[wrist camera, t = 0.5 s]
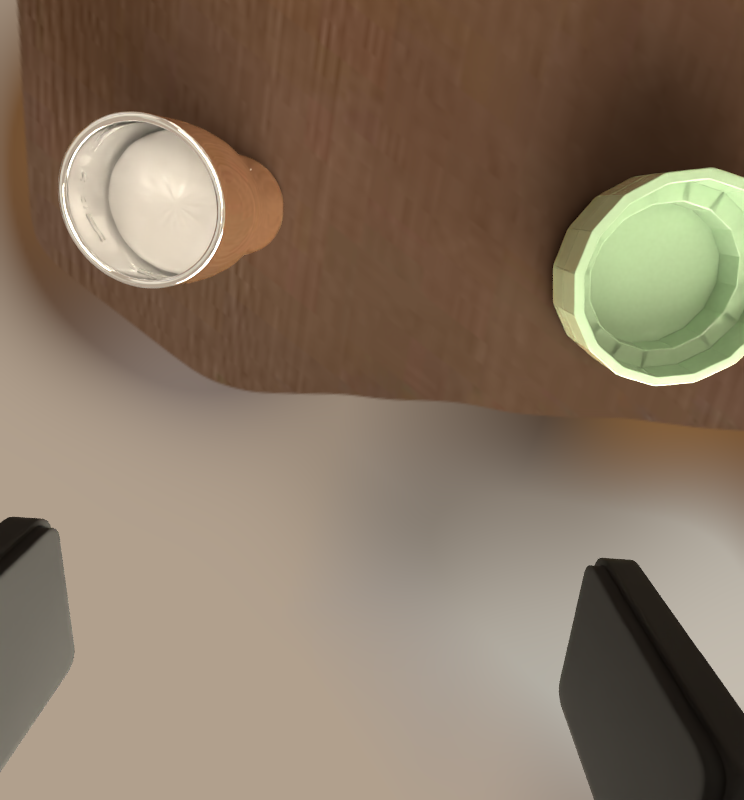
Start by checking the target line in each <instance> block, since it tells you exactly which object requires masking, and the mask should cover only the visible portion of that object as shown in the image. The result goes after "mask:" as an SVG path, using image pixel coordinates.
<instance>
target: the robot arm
mask: <svg viewBox="0 0 744 800" xmlns="http://www.w3.org/2000/svg"><path fill="white" fill-rule="evenodd" d="M73 658H74V642H73V635H72V627H71V620H70V612H69V606H68V598H67V591H66V583H65V575H64V568H63V560H62V553H61V546H60V538H59V534H58V531H57V530H56V529H54V528H51V527H50V524H49V523H48V521H47V520H44V519H37V518H23V517H22V518H21V517H9V518H7V519H5V520H4V521H2V522H1V523H0V772H1V770H2V769H3V767H4V766H5V764H6V763H7V761H8V760H9V758H10V757H11V755H12V754H13V753H14V751H15V750H16V748H17V747H18V745H19V744H20V742H21V741H22V739H23V738H24V736H25V735H26V733H27V732H28V730H29V729H30V727H31V726H32V725H33V723H34V722H35V720H36V718H37V717H38V716H39V714H40V713H41V711H42V710H43V708H44V707H45V705H46V704H47V702H48V701H49V699H50V698H51V697H52V695H53V694H54V692H55V691H56V689H57V688H58V686H59V685H60V683H61V682H62V680H63V678H64V677H65V676H66V674H67V673H68V671H69V669H70V667H71V665H72V662H73ZM559 696H560V703H561V707H562V710H563V712H564V715H565V718H566V721H567V723H568V726H569V729H570V732H571V735H572V738H573V741H574V744H575V746H576V749H577V752H578V755H579V758H580V761H581V763H582V766H583V769H584V772H585V774H586V778H587V780H588V783H589V786H590V789H591V792H592V794H593V797H594V800H744V713H743V711H742V710H741V709H740V707H739V706H738V705H737V703H736V702H735V700H734V699H733V697H732V696H731V695H730V693H729V692H728V690H727V689H726V687H725V686H724V685H723V683H722V682H721V680H720V679H719V678H718V676H717V675H716V674H715V672H714V671H713V669H712V668H711V666H710V665H709V664H708V662H707V661H706V659H705V658H704V656H703V655H702V654H701V652H700V651H699V650H698V649H697V647H696V646H695V644H694V643H693V641H692V640H691V639H690V637H689V636H688V635H687V633H686V632H685V630H684V629H683V627H682V626H681V625H680V623H679V622H678V620H677V619H676V617H675V616H674V615H673V613H672V612H671V610H670V609H669V608H668V606H667V605H666V603H665V602H664V601H663V599H662V598H661V596H660V595H659V593H658V592H657V591H656V589H655V588H654V586H653V585H652V584H651V582H650V581H649V579H648V578H647V576H646V575H645V574H644V572H643V571H642V569H641V568H640V567H639V565H638V564H637V563H636V562H635V561H633V560H625V559H609V558H600V559H598V560H597V562H596V564H595V566H588V567H587V568H586V570H585V573H584V577H583V581H582V586H581V590H580V595H579V599H578V603H577V608H576V612H575V617H574V621H573V626H572V630H571V635H570V639H569V643H568V647H567V652H566V656H565V661H564V665H563V670H562V674H561V678H560V684H559Z"/></svg>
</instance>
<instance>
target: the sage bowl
mask: <svg viewBox="0 0 744 800" xmlns="http://www.w3.org/2000/svg"><path fill="white" fill-rule="evenodd" d="M553 303H554V306H555V309H556V311H557V313H558V316H559V318H560V320H561V322H562V325H563V327H564V329H565V331H566V334H567V335H568V336H569V337H570V338H571V339H572V340H573V341H574V342H576V343H577V344H578V345H579V346H580V347H581V348H582V349H584V350H585V351H586V352H587V353H588V354H589V355H590V356H592V357H593V358H594V359H596V360H597V361H598V362H600V363H601V364H603V365H604V366H605V367H607V368H608V369H610V370H611V371H612V372H614V373H615V374H617V375H618V376H622V377H625V378H628V379H632V380H635V381H638V382H642V383H645V384H648V385H652V386H661V385H672V384H683V383H694V382H697V381H699V380H701V379H703V378H705V377H708V376H710V375H712V374H714V373H716V372H718V371H721V370H723V369H725V368H727V367H729V366H731V365H733V364H735V363H736V362H737V361H738V360H739V359H740V358H742V357H743V356H744V177H741V176H738V175H735V174H732V173H729V172H726V171H723V170H720V169H717V168H714V167H713V168H712V167H709V168H700V169H691V170H682V171H673V172H665V173H657V174H649V175H641V176H634V177H632V178H630V179H628V180H626V181H624V182H622V183H620V184H618V185H617V186H615V187H613V188H611V189H609V190H607V191H605V192H604V193H602V194H600V195H598V196H597V197H595V198H594V199H593V201H592V202H591V203H590V204H589V205H588V206H587V207H586V208H585V210H584V211H583V212H582V213H581V214H580V215H579V216H578V217H577V219H576V220H575V221H574V222H573V223H572V224H571V225H570V226H569V228H568V229H567V232H566V234H565V237H564V239H563V242H562V245H561V247H560V250H559V252H558V255H557V257H556V260H555V262H554V266H553Z"/></svg>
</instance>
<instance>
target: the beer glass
mask: <svg viewBox="0 0 744 800" xmlns="http://www.w3.org/2000/svg"><path fill="white" fill-rule="evenodd" d="M58 198H59V205H60V210H61V214H62V217H63V220H64V223H65V225H66V228H67V230H68V232H69V234H70V236H71V238H72V239H73V241H74V243H75V244H76V246H77V247H78V249H79V250H80V251H81V252H82V254H83V255H84V256H85V257H86V258H87V259H88V260H89V261H90V262H91V263H92V264H93V265H94V266H95V267H97V268H98V269H99V270H101V271H102V272H103V273H105V274H106V275H108V276H110V277H112V278H114V279H116V280H118V281H120V282H122V283H125V284H128V285H132V286H136V287H141V288H164V287H169V286H173V285H180V284H186V283H192V282H196V281H200V280H203V279H206V278H209V277H212V276H214V275H216V274H218V273H220V272H222V271H224V270H226V269H228V268H229V267H231V266H232V265H233V264H235V263H236V262H237V261H238V260H239V259H240V258H241V257H242V256H243V255H245V254H250V253H254V252H256V251H259V250H261V249H262V248H264V247H265V246H267V245H268V244H269V243H270V242H271V241H272V240H273V238H274V237H275V236H276V234H277V233H278V231H279V228H280V226H281V223H282V219H283V212H284V205H283V198H282V193H281V190H280V188H279V185H278V183H277V181H276V180H275V178H274V177H273V175H272V174H271V173H270V171H269V170H268V169H267V168H266V167H264V166H263V165H262V164H261V163H259V162H258V161H256V160H254V159H252V158H250V157H247V156H243V155H238V154H237V153H236V151H235V150H234V149H233V148H232V147H230V146H229V145H228V144H227V143H226V142H224V141H223V140H222V139H220V138H219V137H217V136H215V135H213V134H212V133H210V132H208V131H206V130H204V129H202V128H200V127H198V126H195V125H192V124H189V123H186V122H183V121H180V120H176V119H172V118H167V117H161V116H157V115H154V114H150V113H146V112H139V111H123V112H116V113H112V114H108V115H105V116H103V117H100V118H98V119H96V120H95V121H93V122H91V123H90V124H88V125H87V126H86V127H85V128H83V129H82V130H81V131H80V132H79V133H78V134H77V135H76V137H75V138H74V139H73V141H72V142H71V143H70V145H69V147H68V149H67V150H66V153H65V155H64V157H63V160H62V163H61V167H60V171H59V178H58Z"/></svg>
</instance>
